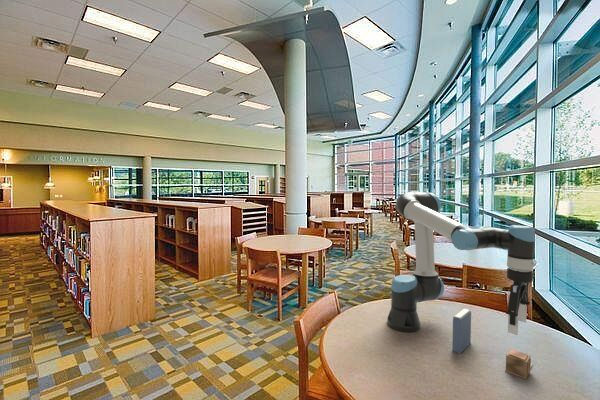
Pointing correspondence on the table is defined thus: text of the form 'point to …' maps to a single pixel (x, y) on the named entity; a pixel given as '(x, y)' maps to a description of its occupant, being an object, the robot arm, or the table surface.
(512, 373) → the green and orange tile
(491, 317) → the table surface
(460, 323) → the navy book
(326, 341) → the table surface
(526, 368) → the letter block
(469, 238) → the robot arm
